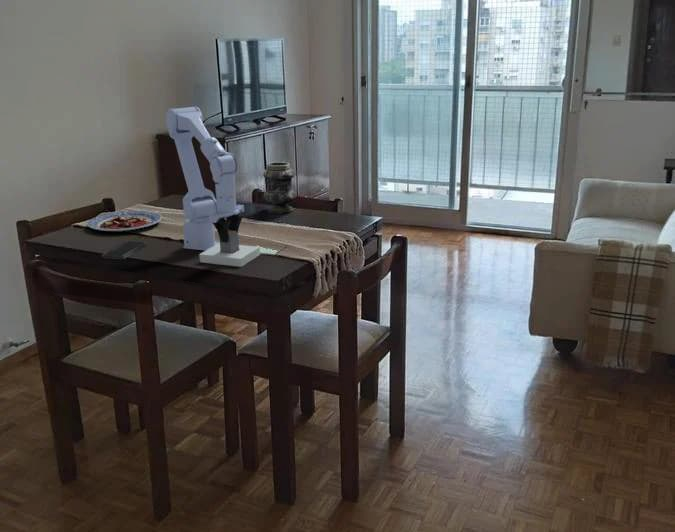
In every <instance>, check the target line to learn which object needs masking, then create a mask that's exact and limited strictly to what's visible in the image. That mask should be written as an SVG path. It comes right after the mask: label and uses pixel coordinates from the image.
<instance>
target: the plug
mask: <svg viewBox="0 0 675 532" xmlns="http://www.w3.org/2000/svg"><path fill="white" fill-rule="evenodd" d="M218 237H219V236H218ZM239 241H240V240H239V231H238V232H236V231H232V230H228V242H227V243H225V242H221V240H220V237H219V242H220V252H222V253H231V254H233V253H235V252H237V251H238V250H239V245H240V243H239Z"/></svg>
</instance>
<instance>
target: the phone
mask: <svg viewBox="0 0 675 532" xmlns="http://www.w3.org/2000/svg"><path fill="white" fill-rule="evenodd" d="M146 246H147V244H146V242H137V241H135V242H134V241H125V242H122V243H121V244H119V245H117V246H115V247H114V248H111V249H109V250H108V251H106V252H105V253H102V254H101V258H102V259H111V260H112V259H113V260H124V259H126V258H128V257H129V256H131V255H133V254H134V253H135V254H136V252H138V251H140V250H142V249H143V248H145V247H146Z"/></svg>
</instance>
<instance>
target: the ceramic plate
mask: <svg viewBox="0 0 675 532" xmlns="http://www.w3.org/2000/svg"><path fill="white" fill-rule="evenodd" d="M119 216H120V217H119ZM121 216H132V217H130V219H127V218H124V217H121ZM115 217H116V218H115ZM134 217H136V218H134ZM137 217H142V218H143V219H141V218H137ZM144 218H147V219H150V220H151V221H152V222H151V223H149V224H146V221H144V220H146V219H144ZM110 219H112V220H110ZM162 219H163V216H162V215H161V214H160V213H157V212H154V211H149V210H148V211H147V210H146V211H145V210H128V211H118V212H112V213H111V212H110V213H107V214H106V213H105V214H102V215H99V216H95V217H93V218H91V219H90V220H88V221H87V223H86V224H87V227H88V228H90V229H92V230H96V231H97V230H98V231H104V232H105V231H106V232H110V233H111V232H114V233H120V232H121V233H123V231H125V232H132V231H131V230H133V231H137V230H136V229H138V230H141V229H140V228H142V229H144V227H145V228H146V227H151V226H152V225H155V224H157V223H159V222H161V220H162ZM108 220H109V221H108ZM106 221H107V222H106ZM144 224H146V225H144ZM142 225H143V226H142Z"/></svg>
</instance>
